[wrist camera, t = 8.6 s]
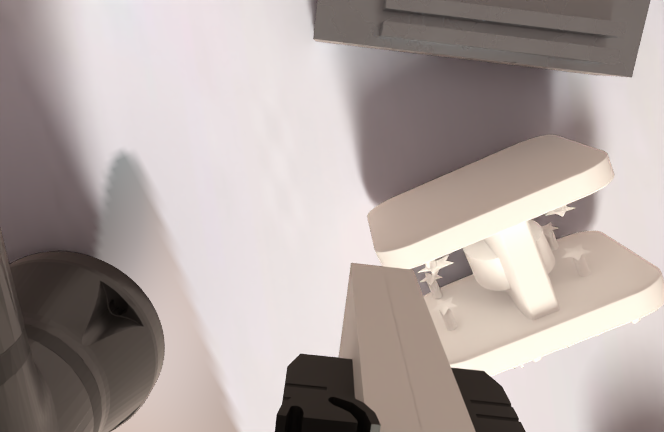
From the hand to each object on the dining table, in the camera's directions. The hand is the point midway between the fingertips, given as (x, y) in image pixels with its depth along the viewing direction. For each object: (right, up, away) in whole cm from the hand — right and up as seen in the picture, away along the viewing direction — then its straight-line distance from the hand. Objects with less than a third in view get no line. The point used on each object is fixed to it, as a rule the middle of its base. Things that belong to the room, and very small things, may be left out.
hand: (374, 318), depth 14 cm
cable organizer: (+10, +2, +30) cm, 32 cm away
